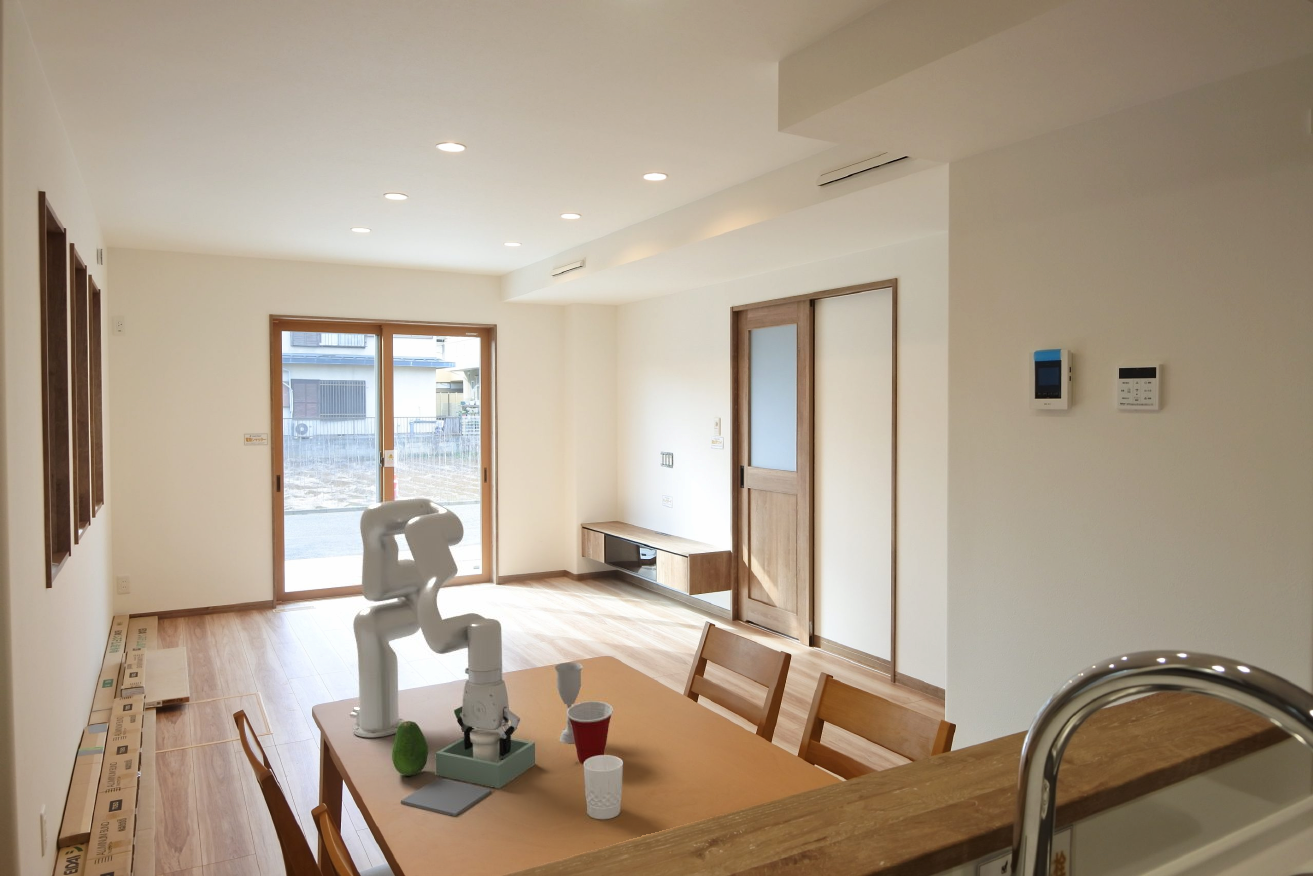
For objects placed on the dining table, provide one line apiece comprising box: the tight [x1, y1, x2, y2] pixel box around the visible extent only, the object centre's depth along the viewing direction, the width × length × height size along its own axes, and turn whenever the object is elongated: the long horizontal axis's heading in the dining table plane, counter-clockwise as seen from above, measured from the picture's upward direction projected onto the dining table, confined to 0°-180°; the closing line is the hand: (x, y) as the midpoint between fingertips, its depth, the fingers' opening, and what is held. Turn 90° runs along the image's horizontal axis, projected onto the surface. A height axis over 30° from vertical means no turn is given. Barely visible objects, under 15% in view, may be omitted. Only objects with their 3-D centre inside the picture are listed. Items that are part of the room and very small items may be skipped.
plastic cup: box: [566, 700, 614, 765], centre depth 196 cm, size 11×11×12 cm
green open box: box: [435, 736, 536, 789], centre depth 191 cm, size 17×14×5 cm
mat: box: [400, 777, 493, 818], centre depth 177 cm, size 14×12×1 cm
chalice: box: [554, 661, 584, 744], centre depth 208 cm, size 7×7×18 cm
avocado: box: [391, 720, 429, 777], centre depth 188 cm, size 8×8×12 cm
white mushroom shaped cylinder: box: [470, 727, 502, 763], centre depth 191 cm, size 7×7×9 cm
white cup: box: [583, 754, 624, 820], centre depth 170 cm, size 8×8×10 cm
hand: (487, 750), depth 191 cm, fingers open, 9 cm apart
